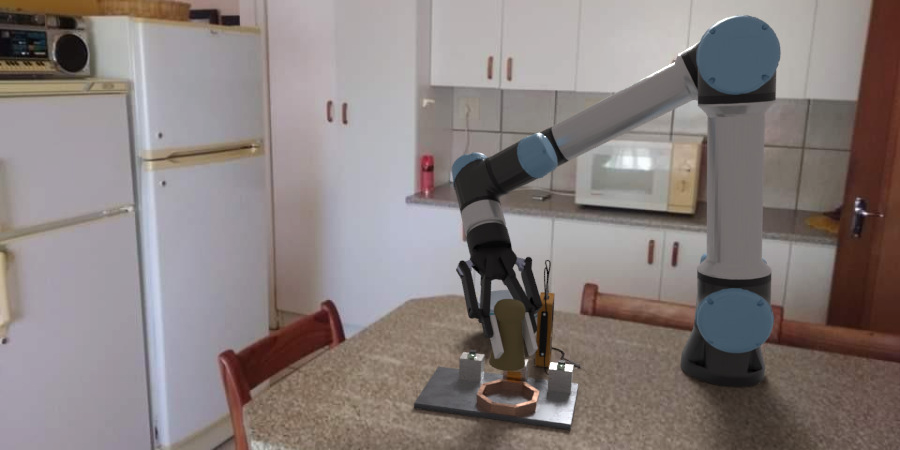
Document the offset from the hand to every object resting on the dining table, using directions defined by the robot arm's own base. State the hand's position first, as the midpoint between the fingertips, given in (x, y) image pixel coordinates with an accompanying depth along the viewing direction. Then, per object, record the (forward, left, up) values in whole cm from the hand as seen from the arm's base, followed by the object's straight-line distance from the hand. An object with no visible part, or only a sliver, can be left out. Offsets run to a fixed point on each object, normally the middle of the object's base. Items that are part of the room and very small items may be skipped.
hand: (516, 353), depth 116 cm
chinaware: (+7, -36, -11) cm, 39 cm away
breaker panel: (+3, -6, -11) cm, 13 cm away
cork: (+2, -3, -3) cm, 5 cm away
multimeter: (-6, -24, -11) cm, 27 cm away
